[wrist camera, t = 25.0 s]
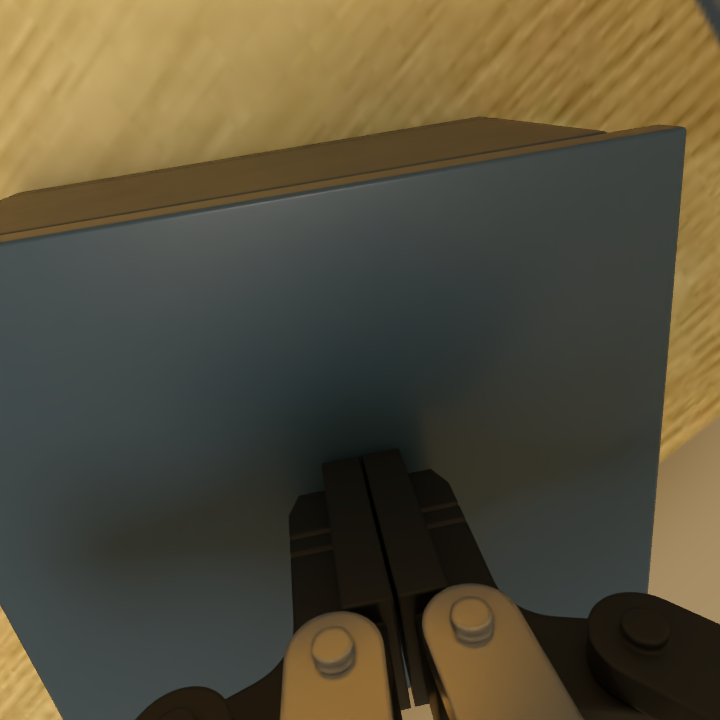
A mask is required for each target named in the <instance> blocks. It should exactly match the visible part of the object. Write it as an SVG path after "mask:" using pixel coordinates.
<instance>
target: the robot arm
mask: <svg viewBox="0 0 720 720" xmlns="http://www.w3.org/2000/svg"><path fill="white" fill-rule="evenodd" d="M362 464H363V469H364V475H365V481H366V485H365V481H364V477H363V473H362V469H361V465H360V461H359V457H354V458H349V459H344V460H339V461H334V462H329V463H324V464H322V472H323V479H324V486H325V491H320V492H315V493H310V494H305V495H300V496H298V498H297V500H296V502H295V504H294V506H293V508H292V510H291V512H290V514H289V537H290V555H291V559H290V560H291V581H292V603H293V625H294V626H293V636H292V638H291V639H290V641H289V643H288V645H287V648H286V650H285V654H284V657H283V658H282V660H281V661H280V662H279V663H278V665H277V666H276V667H275V668H274V669H273V670H272V671H271V672H270V673H268V674H267V675H266V676H265V677H263V678H262V679H260V680H259V681H257V682H255V683H254V684H252V685H250V686H248V687H247V688H245V689H243V690H241V691H239V692H237V693H236V694H234V695H232V696H230V697H228V698H226V699H225V698H224V697H223V696H222V695H221V694H219V693H218V692H216V691H215V690H213V689H210V688H208V687H202V686H190V687H184V688H180V689H177V690H174V691H171V692H169V693H167V694H165V695H163V696H162V697H160V698H158V699H157V700H155V701H154V702H153V703H152V704H150V705H149V706H148V707H147V708H146V709H145V710H144V711H143V712H142V713H141V714H140V715H139V716H138V717H137V718H136V719H135V720H402V716H401V710H405V709H409V708H411V705H410V699H409V693H408V686H407V680H406V674H405V668H404V662H403V657H404V661H405V665H406V669H407V674H408V678H409V682H410V686H411V690H412V694H413V699H414V703H415V706H421V705H424V704H430V708H431V711H432V715H433V719H434V720H720V625H719V624H718V623H715V622H713V621H711V620H709V619H707V618H704V617H702V616H700V615H698V614H695V613H693V612H691V611H689V610H687V609H684V608H682V607H680V606H678V605H675V604H673V603H671V602H669V601H667V600H664V599H661V598H659V597H656V596H653V595H649V594H646V593H639V592H622V593H616V594H612V595H609V596H607V597H605V598H603V599H601V600H600V601H599V602H597V603H596V604H595V606H594V607H593V608H592V609H591V611H590V613H589V616H588V618H573V617H558V616H548V615H542V614H538V613H534V612H531V611H529V610H526V609H524V608H522V607H520V606H518V605H516V604H515V602H514V601H513V600H512V599H511V598H510V597H509V596H507V595H506V594H505V593H503V592H502V591H500V590H499V588H498V587H497V585H496V583H495V582H494V580H493V577H492V575H491V573H490V571H489V569H488V566H487V564H486V562H485V560H484V558H483V556H482V553H481V551H480V549H479V547H478V545H477V543H476V540H475V538H474V536H473V534H472V532H471V529H470V527H469V525H468V523H467V522H466V520H465V516H464V514H463V512H462V510H461V508H460V506H459V505H458V501H457V499H456V497H455V495H454V493H453V490H452V488H451V486H450V484H449V482H447V481H446V480H445V479H443V478H442V477H441V476H440V475H438V474H437V473H436V472H434V471H433V470H432V469H427V470H422V471H417V472H413V473H407V470H406V467H405V464H404V462H403V459H402V456H401V453H400V451H399V449H393V450H388V451H383V452H378V453H373V454H368V455H363V456H362ZM366 487H367V489H366ZM401 648H402V650H401ZM402 653H403V656H402Z"/></svg>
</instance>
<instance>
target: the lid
mask: <svg viewBox="0 0 720 720" xmlns="http://www.w3.org/2000/svg"><path fill="white" fill-rule="evenodd" d="M685 143H686V128H684V127H679V126H668V125H653V126H647V127H641V128H635V129H629V130H623V131H617V132H611V133H605V134H599V135H594V136H588V137H582V138H576V139H570V140H564V141H558V142H552V143H546V144H540V145H534V146H528V147H522V148H516V149H510V150H504V151H498V152H492V153H486V154H481V155H475V156H469V157H463V158H457V159H451V160H445V161H439V162H433V163H427V164H421V165H415V166H409V167H403V168H397V169H391V170H385V171H379V172H374V173H368V174H362V175H356V176H350V177H344V178H338V179H332V180H326V181H320V182H314V183H308V184H302V185H296V186H290V187H284V188H278V189H272V190H266V191H261V192H255V193H249V194H243V195H237V196H231V197H225V198H219V199H213V200H207V201H201V202H195V203H189V204H183V205H177V206H171V207H165V208H159V209H153V210H148V211H142V212H136V213H130V214H124V215H118V216H112V217H106V218H100V219H94V220H88V221H82V222H76V223H70V224H64V225H58V226H52V227H46V228H41V229H35V230H29V231H23V232H17V233H11V234H5V235H0V605H1V607H2V609H3V611H4V612H5V614H6V616H7V618H8V620H9V622H10V623H11V625H12V627H13V629H14V631H15V633H16V634H17V636H18V638H19V640H20V642H21V643H22V645H23V647H24V649H25V651H26V653H27V654H28V656H29V658H30V660H31V662H32V664H33V665H34V667H35V669H36V671H37V673H38V675H39V676H40V678H41V680H42V682H43V684H44V685H45V687H46V689H47V691H48V693H49V695H50V696H51V698H52V700H53V702H54V704H55V706H56V707H57V709H58V711H59V713H60V715H61V717H62V718H63V720H135V719H136V718H137V717H138V716H139V715H140V714H141V713H142V712H143V711H144V710H145V709H146V708H147V707H148V706H149V705H150V704H152V703H153V702H154V701H155V700H157V699H158V698H160V697H162V696H163V695H165V694H167V693H169V692H171V691H174V690H177V689H180V688H184V687H190V686H202V687H208V688H210V689H213V690H215V691H216V692H218V693H219V694H221V695H222V696H223V697H224V698H225V699H226V698H228V697H230V696H232V695H234V694H236V693H237V692H239V691H241V690H243V689H245V688H247V687H248V686H250V685H252V684H254V683H255V682H257V681H259V680H260V679H262V678H263V677H265V676H266V675H267V674H268V673H270V672H271V671H272V670H273V669H274V668H275V667H276V666H277V665H278V663H279V662H280V661H281V660H282V658H283V657H284V654H285V650H286V648H287V645H288V643H289V641H290V639H291V638H292V636H293V626H294V625H293V603H292V581H291V560H290V559H291V555H290V537H289V514H290V512H291V510H292V508H293V506H294V504H295V502H296V500H297V498H298V496H300V495H305V494H310V493H315V492H320V491H325V486H324V479H323V472H322V464H324V463H329V462H334V461H339V460H344V459H349V458H354V457H359V461H360V465H361V469H362V473H363V477H364V481H365V475H364V469H363V464H362V456H363V455H368V454H373V453H378V452H383V451H388V450H393V449H399V451H400V453H401V456H402V459H403V462H404V464H405V467H406V470H407V473H413V472H417V471H422V470H427V469H432V470H433V471H434V472H436V473H437V474H438V475H440V476H441V477H442V478H443V479H445V480H446V481H447V482H449V484H450V486H451V488H452V490H453V493H454V495H455V497H456V499H457V501H458V505H459V506H460V508H461V510H462V512H463V514H464V516H465V520H466V522H467V523H468V525H469V527H470V529H471V532H472V534H473V536H474V538H475V540H476V543H477V545H478V547H479V549H480V551H481V553H482V556H483V558H484V560H485V562H486V564H487V566H488V569H489V571H490V573H491V575H492V577H493V580H494V582H495V583H496V585H497V587H498V588H499V590H500V591H502V592H503V593H505V594H506V595H507V596H509V597H510V598H511V599H512V600H513V601H514V602H515V604H516V605H518V606H520V607H522V608H524V609H526V610H529V611H531V612H534V613H538V614H542V615H548V616H558V617H573V618H588V616H589V613H590V611H591V609H592V608H593V607H594V606H595V604H596V603H597V602H599V601H600V600H601V599H603V598H605V597H607V596H609V595H612V594H616V593H622V592H639V593H646V594H648V583H649V571H650V559H651V547H652V535H653V524H654V511H655V499H656V488H657V476H658V464H659V452H660V440H661V428H662V417H663V405H664V393H665V381H666V369H667V357H668V345H669V333H670V321H671V309H672V298H673V286H674V274H675V262H676V250H677V238H678V226H679V214H680V202H681V190H682V179H683V167H684V155H685ZM365 485H366V481H365ZM366 489H367V487H366ZM401 650H402V648H401ZM402 656H403V653H402ZM403 662H404V668H405V674H406V680H407V686H408V688H410V687H411V686H410V682H409V678H408V674H407V669H406V665H405V661H404V657H403Z"/></svg>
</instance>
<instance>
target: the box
mask: <svg viewBox="0 0 720 720" xmlns="http://www.w3.org/2000/svg"><path fill="white" fill-rule="evenodd" d="M605 133H607V132H604V131H597V130H589V129H581V128H572V127H564V126H555V125H547V124H539V123H530V122H522V121H514V120H505V119H497V118H487V117H476V118H470V119H464V120H458V121H452V122H446V123H440V124H434V125H428V126H422V127H416V128H409V129H403V130H397V131H391V132H385V133H379V134H373V135H367V136H361V137H355V138H349V139H343V140H337V141H331V142H325V143H319V144H312V145H306V146H300V147H294V148H288V149H282V150H276V151H270V152H264V153H258V154H252V155H246V156H240V157H234V158H228V159H222V160H215V161H209V162H203V163H197V164H191V165H185V166H179V167H173V168H167V169H161V170H155V171H149V172H143V173H137V174H131V175H125V176H119V177H112V178H106V179H100V180H94V181H88V182H82V183H76V184H70V185H64V186H58V187H52V188H46V189H40V190H34V191H28V192H22V193H17V194H15V195H12V196H10V197H8V198H5V199H2V200H0V235H5V234H11V233H17V232H23V231H29V230H35V229H41V228H46V227H52V226H58V225H64V224H70V223H76V222H82V221H88V220H94V219H100V218H106V217H112V216H118V215H124V214H130V213H136V212H142V211H148V210H153V209H159V208H165V207H171V206H177V205H183V204H189V203H195V202H201V201H207V200H213V199H219V198H225V197H231V196H237V195H243V194H249V193H255V192H261V191H266V190H272V189H278V188H284V187H290V186H296V185H302V184H308V183H314V182H320V181H326V180H332V179H338V178H344V177H350V176H356V175H362V174H368V173H374V172H379V171H385V170H391V169H397V168H403V167H409V166H415V165H421V164H427V163H433V162H439V161H445V160H451V159H457V158H463V157H469V156H475V155H481V154H486V153H492V152H498V151H504V150H510V149H516V148H522V147H528V146H534V145H540V144H546V143H552V142H558V141H564V140H570V139H576V138H582V137H588V136H594V135H599V134H605Z"/></svg>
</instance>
